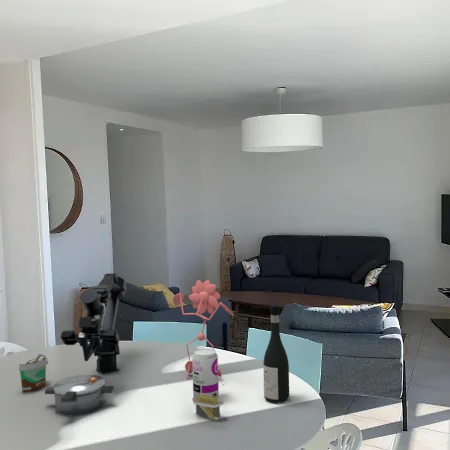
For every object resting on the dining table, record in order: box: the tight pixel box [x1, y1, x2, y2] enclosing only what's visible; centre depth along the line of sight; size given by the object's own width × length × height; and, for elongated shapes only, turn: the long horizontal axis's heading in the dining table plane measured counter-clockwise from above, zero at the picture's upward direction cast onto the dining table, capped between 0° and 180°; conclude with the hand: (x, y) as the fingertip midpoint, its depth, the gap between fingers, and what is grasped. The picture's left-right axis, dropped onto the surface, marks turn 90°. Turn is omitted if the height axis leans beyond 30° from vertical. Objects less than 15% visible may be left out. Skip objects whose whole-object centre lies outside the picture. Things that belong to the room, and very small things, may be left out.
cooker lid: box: [52, 374, 106, 402], centre depth 156 cm, size 20×16×2 cm
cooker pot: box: [44, 385, 115, 417], centre depth 158 cm, size 15×21×6 cm
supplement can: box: [191, 348, 220, 400], centre depth 162 cm, size 8×8×15 cm
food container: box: [18, 353, 49, 393], centre depth 175 cm, size 12×6×10 cm, turn 168°
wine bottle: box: [262, 304, 290, 404], centre depth 159 cm, size 8×8×30 cm
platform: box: [191, 394, 224, 420], centre depth 147 cm, size 12×18×7 cm, turn 63°
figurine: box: [172, 279, 235, 386], centre depth 183 cm, size 15×26×35 cm, turn 62°
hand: (85, 360), depth 165 cm, fingers closed
